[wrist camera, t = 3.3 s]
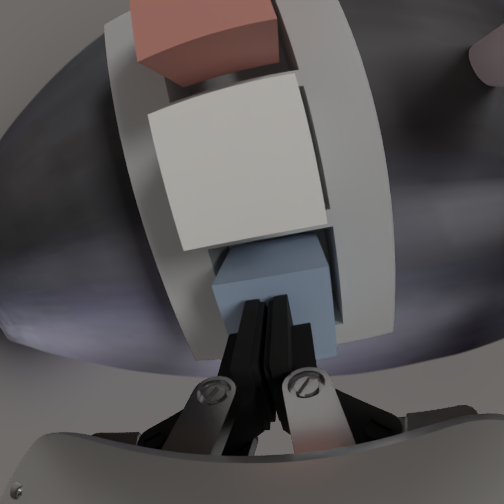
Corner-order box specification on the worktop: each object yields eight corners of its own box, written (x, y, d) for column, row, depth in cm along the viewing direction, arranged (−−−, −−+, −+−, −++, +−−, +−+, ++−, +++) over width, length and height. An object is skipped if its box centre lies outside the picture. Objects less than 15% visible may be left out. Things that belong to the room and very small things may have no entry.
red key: (255, -8, 8) (244, -60, 4) (279, 62, 10) (276, 18, 6) (168, 18, 9) (127, -21, 5) (183, 87, 11) (137, 62, 6)
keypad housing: (311, 3, 12) (318, -37, 7) (370, 290, 19) (393, 332, 14) (143, 48, 14) (103, 25, 9) (213, 315, 21) (195, 360, 16)
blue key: (315, 231, 14) (328, 266, 10) (325, 305, 15) (337, 356, 11) (231, 246, 15) (211, 285, 11) (250, 316, 16) (240, 369, 12)
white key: (289, 101, 11) (294, 72, 6) (311, 198, 12) (327, 223, 8) (192, 125, 11) (147, 114, 7) (215, 217, 13) (183, 251, 9)
